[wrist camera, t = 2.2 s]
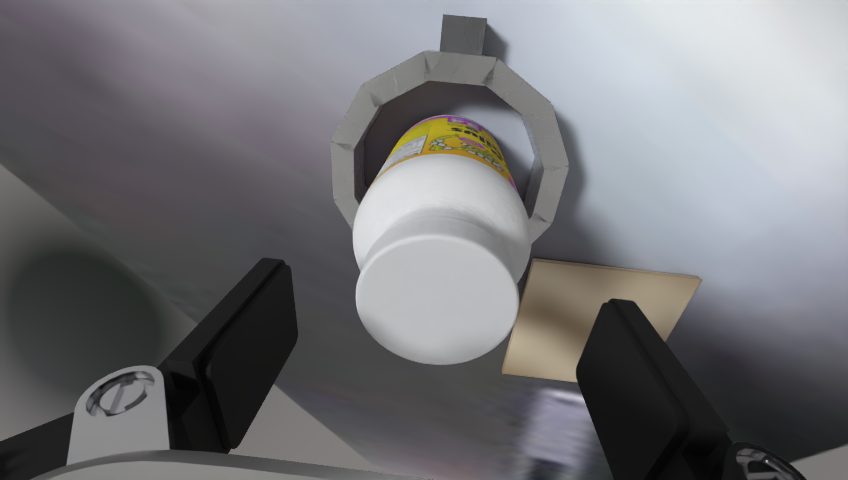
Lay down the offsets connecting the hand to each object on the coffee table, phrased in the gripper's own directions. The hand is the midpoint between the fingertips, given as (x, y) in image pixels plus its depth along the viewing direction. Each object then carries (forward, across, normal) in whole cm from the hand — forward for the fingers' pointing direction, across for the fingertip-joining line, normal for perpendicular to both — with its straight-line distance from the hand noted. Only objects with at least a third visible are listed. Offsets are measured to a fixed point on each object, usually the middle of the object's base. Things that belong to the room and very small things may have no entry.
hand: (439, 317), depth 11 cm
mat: (+13, -12, +10) cm, 20 cm away
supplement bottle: (+13, 0, -1) cm, 13 cm away
